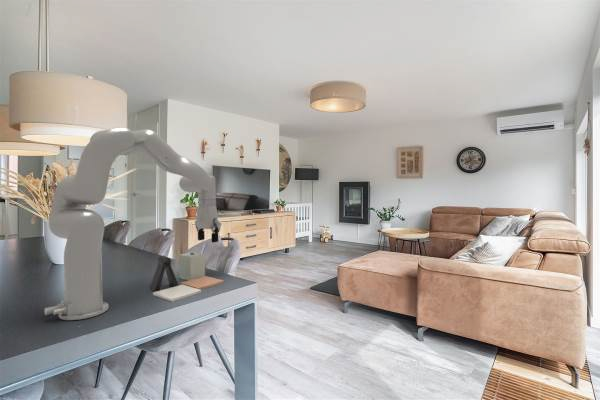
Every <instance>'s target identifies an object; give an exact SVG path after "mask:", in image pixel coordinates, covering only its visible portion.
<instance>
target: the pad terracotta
mask: <svg viewBox="0 0 600 400" xmlns="http://www.w3.org/2000/svg"><path fill="white" fill-rule="evenodd" d="M223 283H225V280H223V279H219V278H214V277H211V276H207V275H205V276H204V277H200V278H196V279H192V280H185V281H182V282H180V283H179V285H186V286H189V287H193V288H196V289H199V290H205V289H207V288H211V287H214V286H217V285H221V284H223Z"/></svg>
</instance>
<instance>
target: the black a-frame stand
mask: <svg viewBox="0 0 600 400" xmlns="http://www.w3.org/2000/svg"><path fill="white" fill-rule="evenodd" d="M171 265H172V261H171V258H169V257H167V256H166V255H163V256H162V255H159V257H158V258H157V266H156V269H155V272H154V275H153V279H152V281H151V283H150V287H149V289H151V290H152V291H153V292H157V291H160V290H164V289H168V288H172V287H175V286H179V285H180V284H179V283H178V280H177V277H176V275H175V273H174V271H173V268H172V266H171ZM164 273H166V277H167V281H168V283H167V284H162V282H163V279H164Z"/></svg>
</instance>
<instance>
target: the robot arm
mask: <svg viewBox="0 0 600 400" xmlns="http://www.w3.org/2000/svg"><path fill="white" fill-rule="evenodd" d="M140 154H143V155H145V156H146V157H147V158H148V159H150V161H152V162H153V163H154V164H156V165H157V166H158V167H159V168H160V169H161V170H162V171H164V172H168V173H170V174H173V175H178V176H181V178H180V179H179V182H178V184H179V187H180V189H181V190H182V191H183V192H187V193H198V194H197V195H198V196H197V198H198V200H197V201H198V206H197V208H196V216H195V217H196V219H195V221H194V225H195V228H196V232H197V241H203V240H205V230H211V243H218V242H219V233H220V230H221V227H222V223H221V222H220V221H219V217H218V216H219V215H218V209H217V199H216V198H217V196H216V195H217V193H216V189H217V188H216V177H215V176H214V175H210V174H209V173H208V172H207V171H206V170H205V169H204V168H202V167H201V166H200V165H199V164H198V163H196V162H194V161H192V160H191V159H189V158H186V157H185V156H182V155H180V154H179V153H178V152H177V151H175V150H174V148H172V147H171V146H170V145H169V144H168V142H166V141H165V140H164V139H163V138H162V137H161V136H160V135H159V134H158V133H157V132H156V131H154V130H152V129H141V130H133V131H132V130H131V129H129V128H127V127H122V126H121V127H113V128H109V129H105V130H99V131H96V132H94V133H93V134H92V135H91V136H90V138H89V142H88V143H87V144H86V146H85V147H84V148H83V150H82V152H81V155H80V158H79V161H78V165H77V168H76V172H75V174H73V175H72V174H71V175H68V176H66V177H64V178H62V179H61V180H60V181H59V182H58V184H57V185H56V188H55V190H54V194H53V198H52V203H51V207H50V213H49V216H48V227H49V230H50V232H51V233H52V234H53V235H54V236H55V237H58V238H60V239H65V240H66V243H65V246H64V251H63V278H64V282H63V283H64V287H63V288H64V299H62V300H61V301H60V303H58V304H57V305H54V306H52V305H51V306H48V307H45V308H44V309H43V310H44V316H47V315H51V314H53V315H58V319H60V320H63V321H78V320H85V319H89V318H93V317H96V316H99V315H101V314H104V313H105V312H106V311H108V309H109V303H107V302H105V301H103V299H104V298H103V295H104V294H103V257H102V256H103V254H102V253H103V251H102V250H103V239H104V233H105V221H104V218H103V217H102V216H101V214H99V212H97V211H95V210H92V209H89V208H88V209H87V206H93V205H98V204H100V203H101V202H103V200H105V197H106V195H107V191H108V190H107V189H108V185H109V184H108V183H109V179H110V174H111V170H112V166H113V163H114V162H115V161H116V159H117V158H118V157H119V156H127V155H128V156H129V155H140Z"/></svg>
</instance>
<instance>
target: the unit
mask: <svg viewBox="0 0 600 400" xmlns="http://www.w3.org/2000/svg"><path fill="white" fill-rule="evenodd" d="M178 256H179V257H178V258H179V262H178V264H179V279H183V280H185V281H188V280H192V279H196V278H200V277H204V276H206V267H205V266H206V265H205V264H206V255H205V253H200V252H196V251H195V252H194V251H192V252H186V253H182V254H178Z"/></svg>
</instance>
